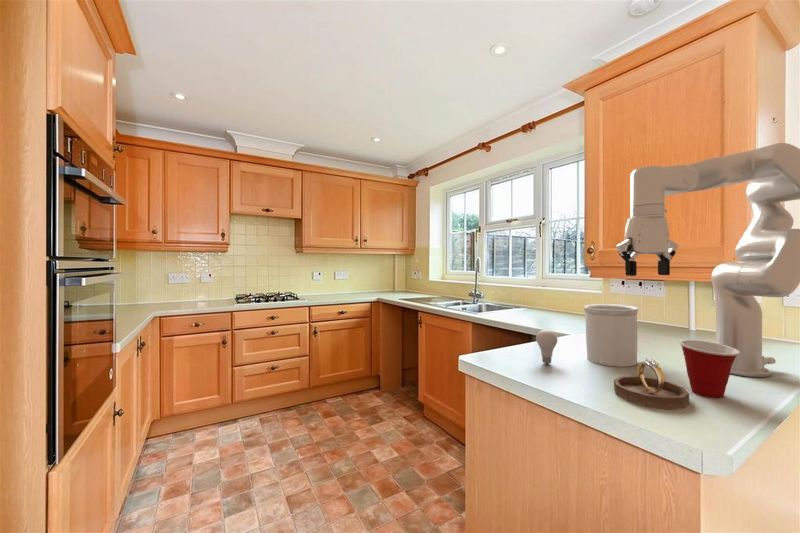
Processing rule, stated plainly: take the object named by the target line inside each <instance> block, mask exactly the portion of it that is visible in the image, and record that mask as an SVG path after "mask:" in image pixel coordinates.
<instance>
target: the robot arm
mask: <svg viewBox="0 0 800 533" xmlns="http://www.w3.org/2000/svg"><path fill="white" fill-rule="evenodd" d="M745 182H746V183H747V182H749V183H748V185H747V186H746V188H745V196H746V198H747V202H748V203H749V206H750V210H751V212H752V217H751V221H750V222H749V224H748V226H747V227H746V229H745V230H744V232H743V234H742V235H741V237H740V238H739V240H738V243H737V244H736V246H735V249H734V254H735V257H736V258H737V260H738V261H737V260H736V261H735V260H734V261H728V262H722V263H720V264H718V265H717V266H715V267H714V268H713V270H712V272H711V275H710V276H711V277H710V279H711V280H710V281H711V285H712V288H713V293H714V297H715V298H714V299H715V343H717V344H721V345H725V346H729V347H732V348H734V349H737V350H738V351H740V353H739V355H737V356H736V357H735V360H734V362H733V364H732V367H731V371H730V375H731V374H732V375H736V376H742V377H751V378H766V377H770V375H771V371H770V369H768V368H766V367H765V366H766V365H774V364H776V362H777V361H776V359H775V358H774V357H772V356H767V357H765V356H764V355H763V310H762V307H761V305H760V303H759V302H758V301H757V298H755V297H764V298H765V297H766V298H784V297H785V298H786V297H788V296H790V295H791V294H793V293H794V292H795V290H797V288H798V287H799V285H800V228H793V225H794V217H793V216H792V214H791V213H790V212H789V211H788V210H787V209H786V208H785V207H784V206H783V204H781V203H783V202H790V201H798V200H800V148H799V147H797V146H795V145H793V144H790V143H787V142H777V143H774V144H769V145H765V146H762V147H759V148H755V149H751V150H747V151H743V152H738V153H732V154H728V155H727V154H726V155H721V156H715V157H711V158H708V159H707V158H706V159H703V160H700V161H696V162H695V163H694V162H693V163H691V164H688V165H687V164H678V165H670V166H660V165H648V166H641V167H638V168H636V169H634V170H633V171H632V172H631V173H630V218H628V219H627V222H626V225H625V232H624V239H623V240H624V241H622V242H621V243H618V244H617V245H616V247H615V248H616V250H617V252H618V253H619V254H618V255H619V256H620V257H621V258H622V260H623V262H624V264H625V265H624V267H625V268H624V269H625V276H627V277H630V276H631V277H637V271H638V270H637V261H636V258H637V257H638V256H639V255H654V254H655V255H656V256H657V258H658V259H659V260H657V274H658V275H659V276H670V275H671V268H670V267H671V261H672V260H673V257H674V256H675V255H676V253H677V250H678V248H679V244H678V243H676V242H675V241H672V240H671V239H670V231H669V224H668V219H667V217H666V216H665V214H666V213H667V212H668V210H667V209H666V208H665V203H666V202H665V201H666V200H665V199H666V198H665V197H669V196H673V195H680V194H685V193H692V192H701V191H706V190H711V189H716V188H723V187H726V186H733V185H736V184H742V183H745Z"/></svg>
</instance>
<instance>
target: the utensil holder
mask: <svg viewBox="0 0 800 533" xmlns="http://www.w3.org/2000/svg"><path fill="white" fill-rule="evenodd" d="M583 310H584V314H585V315H584V318H585V319H584V320H585V322H584V323H585V344H586V356H587V359H588V360H589V361H590V362H591V363H595V364H597V365H598V364H599V365H603V366H609V367H621V368H625V367H626V368H627V367H634V366H635V365H637V363H638V313H639V309H638V307H637V306H632V305H625V304H611V303H610V304H608V303H607V304H605V303H604V304H603V303H601V304H597V303H595V304H587V305H584V307H583Z"/></svg>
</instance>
